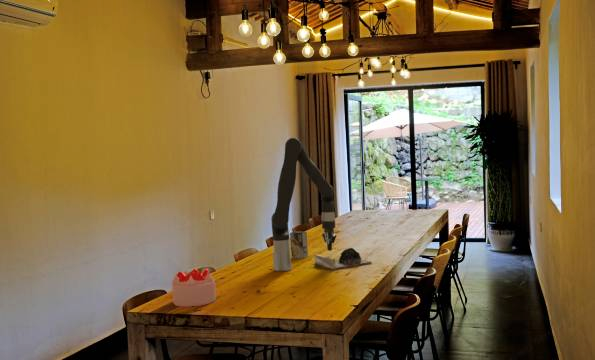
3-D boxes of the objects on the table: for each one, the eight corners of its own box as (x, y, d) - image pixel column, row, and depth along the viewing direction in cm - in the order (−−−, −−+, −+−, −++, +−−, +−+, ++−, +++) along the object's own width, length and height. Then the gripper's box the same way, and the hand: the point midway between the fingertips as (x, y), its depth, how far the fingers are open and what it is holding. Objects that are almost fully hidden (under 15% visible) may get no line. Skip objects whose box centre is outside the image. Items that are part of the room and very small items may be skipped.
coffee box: (308, 256, 382) (307, 231, 381) (304, 258, 377) (302, 232, 376) (295, 256, 386) (294, 231, 386) (291, 258, 381) (289, 232, 380)
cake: (218, 295, 293) (216, 266, 292) (213, 305, 273) (211, 274, 272) (177, 298, 292) (175, 269, 292) (170, 309, 272) (167, 277, 272)
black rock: (346, 262, 358) (343, 245, 357) (366, 260, 351) (364, 244, 350) (336, 268, 347) (332, 251, 346) (357, 267, 340) (354, 249, 339)
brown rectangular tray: (352, 258, 363) (352, 249, 362) (371, 263, 345) (370, 252, 345) (314, 265, 351) (313, 255, 351) (331, 270, 333) (331, 259, 333)
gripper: (317, 219, 347) (318, 249, 348) (328, 221, 336) (329, 252, 336) (328, 218, 351) (329, 248, 351) (340, 220, 339) (341, 251, 340)
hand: (329, 250), depth 344 cm, fingers closed
